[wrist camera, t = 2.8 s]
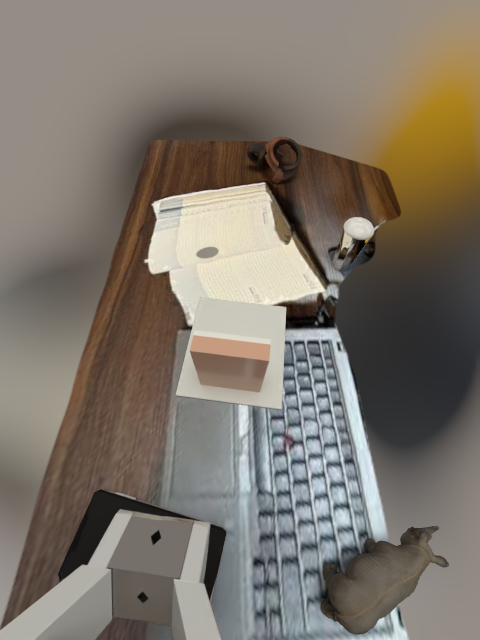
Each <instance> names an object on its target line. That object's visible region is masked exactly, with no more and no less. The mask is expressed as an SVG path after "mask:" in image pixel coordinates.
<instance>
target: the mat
mask: <svg viewBox="0 0 480 640" xmlns="http://www.w3.org/2000/svg"><path fill="white" fill-rule="evenodd" d="M285 322H286V307H280V306H271V305H263V304H254V303H245V302H237V301H228V300H220V299H211V298H202V297H200V299H199V303H198V307H197V311H196V315H195V319H194V323H193V327H192V331H191V335H190V339H189V343H188V347H187V351H186V355H185V359H184V363H183V368H182V372H181V376H180V380H179V384H178V388H177V392H176V396H181V397H188V398H196V399H203V400H211V401H218V402H226V403H233V404H241V405H248V406H256V407H263V408H271V409H278V410H281V409H282V390H283V367H284V344H285ZM195 330H198V331H206V332H215V333H223V334H231V335H239V336H248V337H256V338H264V339H271V346H270V359H269V364H268V367H267V370H266V374H265V377H264V380H263V384H262V387H261V390H260V392H253V391H245V390H237V389H230V388H222V387H214V386H207V385H201V384H200V381H199V378H198V375H197V372H196V369H195V366H194V363H193V360H192V357H191V354H190V347H191V343H192V339H193V335H194V331H195Z"/></svg>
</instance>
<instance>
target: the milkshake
mask: <svg viewBox="0 0 480 640" xmlns="http://www.w3.org/2000/svg"><path fill="white" fill-rule="evenodd" d="M384 222H385V219H384V220H383V221H382V222H381V223H380V224H378V225H377V226H376V227H375V228H373V226H372V224H371V222H370V221H368V220H366V219H364V218H360V217H353V218H350V219H349V220H347V221H346V222H345V224H344V227H343V230H342V234H341V237H340V241H339V244H338V247H337V250H336V253H335V256H334V259H333V261H332V264H333V266H334V268H336V269H338V270H341V271H345V270H348V269H349V268H350V267H351V265H352V264H353V262H354V261H355V259H356V258H357V256H358V255H359V253H360V252H361V251H362V249H363V248H364V246H365V245H366V243H367V242H368V241H369V239H370V238H371V237H372V235H373V234H374V230H376V229H377V228H378V227H379V226H380V225H381V224H383V223H384Z"/></svg>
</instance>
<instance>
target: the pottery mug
mask: <svg viewBox="0 0 480 640" xmlns="http://www.w3.org/2000/svg"><path fill="white" fill-rule="evenodd" d="M286 143H287V144H288V145H290V146H291V147H290V148H291V149H293V150H294V151H295V152H296V155H297V159H296V162H295V163H294V164H293V165H291V166H284V167H283V170H281V169H279V168H278V166H279V162H280V160H281V158H282V157H283V154H282V153H280V152H278V151H277V149H278V147H279V146H280V145H284V144H286ZM255 153H256V154H257V155H255ZM247 154H248V157H249V159H250V160H251V161H252V162H253V163H254V164H255V165H256V167H257V169H259V166H261V165H262V163H263V162H265V161H267V163H268V164H269V166H270V167H271V169H272V170H273V171H274V172H275V175H274V177H273V178H272V182H274V183H276V184H278V183H279V182H280V181H281V180H282V181H283V180H286V179H288V178H290V177H291V176H293V175H294V174H295V173H296V170H298V168H299V164H300V160H301V151H300V148H299V146H298V145H297V143H296V142H295V141H293V140H292V139H290V138H287V137H278V138H276V139H274V140H272V141H270V142H269V143H267V144H266V145H262V144H260V143H253V144H251V145H250V146H249V147H248V149H247Z"/></svg>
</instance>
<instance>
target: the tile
mask: <svg viewBox="0 0 480 640" xmlns="http://www.w3.org/2000/svg"><path fill="white" fill-rule="evenodd" d="M270 346H271V339H264V338H256V337H248V336H239V335H231V334H223V333H215V332H206V331H198V330H195V331H194V335H193V339H192V343H191V347H190V354H191V357H192V360H193V363H194V366H195V369H196V372H197V375H198V378H199V381H200V384H201V385H207V386H214V387H222V388H230V389H237V390H245V391H253V392H260V390H261V387H262V384H263V380H264V377H265V374H266V370H267V367H268V364H269V359H270Z"/></svg>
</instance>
